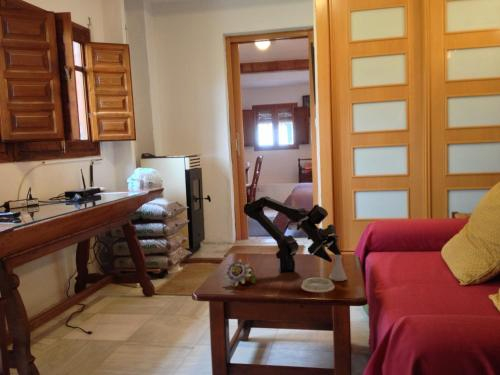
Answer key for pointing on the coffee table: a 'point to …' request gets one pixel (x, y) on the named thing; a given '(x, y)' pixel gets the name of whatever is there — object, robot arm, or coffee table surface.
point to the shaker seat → (317, 285)
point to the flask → (338, 270)
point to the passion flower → (239, 273)
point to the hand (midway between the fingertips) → (336, 259)
